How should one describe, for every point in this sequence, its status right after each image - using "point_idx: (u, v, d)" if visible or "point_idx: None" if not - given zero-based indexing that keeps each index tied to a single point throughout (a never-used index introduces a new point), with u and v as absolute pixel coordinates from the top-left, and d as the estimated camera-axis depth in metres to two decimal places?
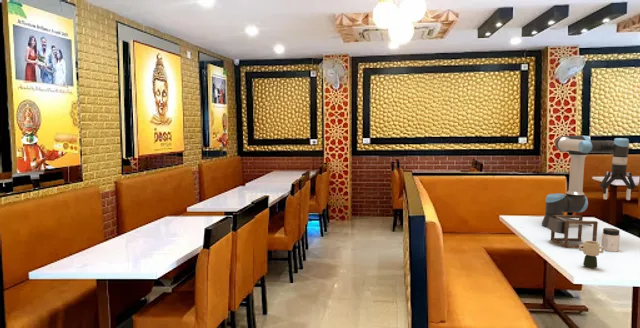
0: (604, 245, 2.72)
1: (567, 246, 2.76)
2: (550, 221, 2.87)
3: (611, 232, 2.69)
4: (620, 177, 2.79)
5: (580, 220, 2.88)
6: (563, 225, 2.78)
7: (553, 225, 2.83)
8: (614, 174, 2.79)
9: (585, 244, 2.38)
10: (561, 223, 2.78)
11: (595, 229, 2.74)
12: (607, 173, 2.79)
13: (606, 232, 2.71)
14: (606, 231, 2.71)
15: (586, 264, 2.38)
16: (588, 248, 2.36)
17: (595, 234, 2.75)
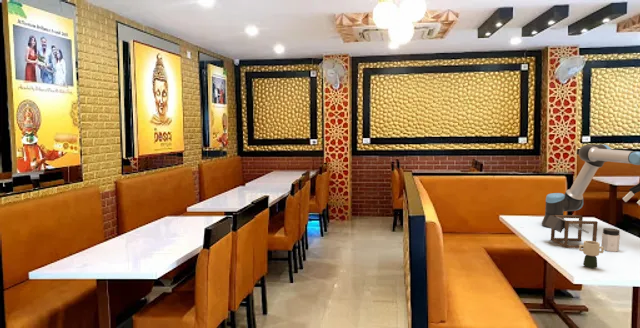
0: (604, 245, 2.72)
1: (567, 246, 2.76)
2: (550, 218, 2.87)
3: (611, 232, 2.69)
4: None
5: None
6: (562, 224, 2.78)
7: (551, 222, 2.83)
8: None
9: (585, 244, 2.38)
10: (561, 221, 2.78)
11: (595, 229, 2.74)
12: None
13: (606, 232, 2.71)
14: (606, 231, 2.71)
15: (586, 264, 2.38)
16: (588, 248, 2.36)
17: (595, 234, 2.75)
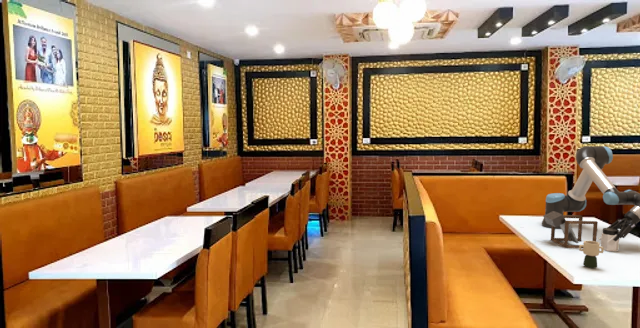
0: (604, 245, 2.72)
1: (567, 246, 2.76)
2: (552, 213, 2.87)
3: (610, 232, 2.69)
4: None
5: None
6: (562, 221, 2.77)
7: (552, 215, 2.83)
8: None
9: (585, 244, 2.38)
10: (562, 218, 2.77)
11: (595, 229, 2.74)
12: (633, 226, 2.65)
13: (605, 232, 2.71)
14: (605, 231, 2.71)
15: (586, 264, 2.38)
16: (588, 248, 2.36)
17: (595, 234, 2.75)
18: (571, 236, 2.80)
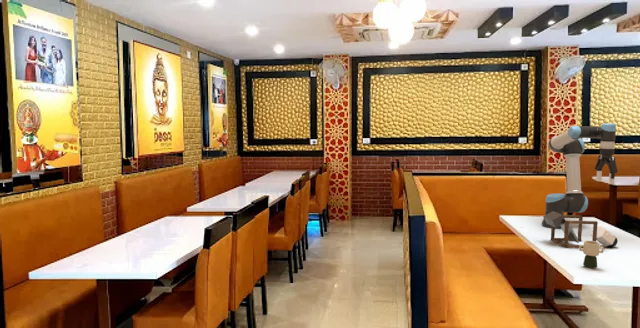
0: (606, 230, 2.77)
1: (567, 246, 2.76)
2: (551, 213, 2.87)
3: (616, 241, 2.76)
4: None
5: None
6: (562, 221, 2.77)
7: (552, 216, 2.83)
8: None
9: (585, 244, 2.38)
10: (562, 218, 2.77)
11: (595, 229, 2.74)
12: (613, 158, 2.83)
13: (615, 237, 2.78)
14: None
15: (586, 264, 2.38)
16: (588, 248, 2.36)
17: (595, 234, 2.75)
18: (572, 235, 2.80)
